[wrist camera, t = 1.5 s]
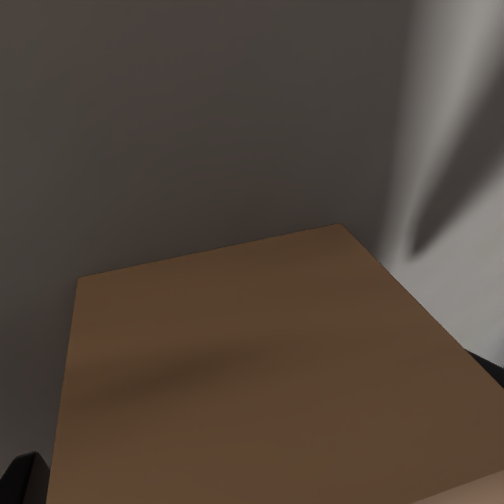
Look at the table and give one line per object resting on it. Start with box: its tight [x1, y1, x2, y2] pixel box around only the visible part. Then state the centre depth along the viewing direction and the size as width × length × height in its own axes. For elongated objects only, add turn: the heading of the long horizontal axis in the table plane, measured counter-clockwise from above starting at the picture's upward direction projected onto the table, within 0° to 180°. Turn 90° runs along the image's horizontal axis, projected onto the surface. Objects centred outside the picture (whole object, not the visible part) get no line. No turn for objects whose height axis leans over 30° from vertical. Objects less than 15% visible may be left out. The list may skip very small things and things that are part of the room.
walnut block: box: [46, 223, 504, 504], centre depth 8 cm, size 6×6×6 cm
